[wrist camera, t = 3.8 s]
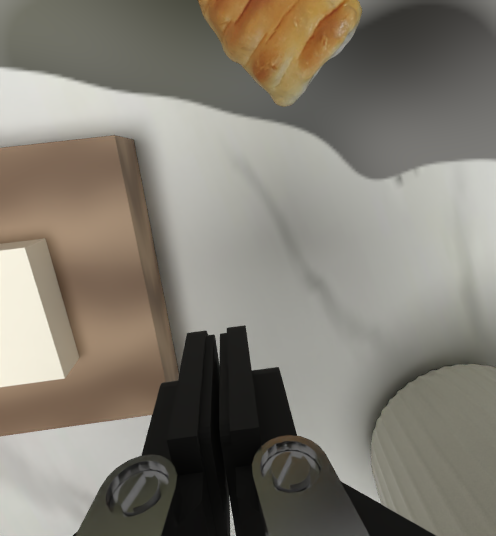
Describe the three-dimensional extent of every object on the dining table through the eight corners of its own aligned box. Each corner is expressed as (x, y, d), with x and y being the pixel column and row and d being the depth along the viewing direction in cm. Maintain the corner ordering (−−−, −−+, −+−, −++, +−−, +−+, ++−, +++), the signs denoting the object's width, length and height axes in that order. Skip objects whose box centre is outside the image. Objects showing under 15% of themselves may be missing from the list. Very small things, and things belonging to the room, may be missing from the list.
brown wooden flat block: (179, 374, 26) (171, 411, 22) (-78, 409, 25) (-132, 454, 21) (133, 139, 21) (114, 135, 17) (-187, 175, 20) (-281, 178, 16)
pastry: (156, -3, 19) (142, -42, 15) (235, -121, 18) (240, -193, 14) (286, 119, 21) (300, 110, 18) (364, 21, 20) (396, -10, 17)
